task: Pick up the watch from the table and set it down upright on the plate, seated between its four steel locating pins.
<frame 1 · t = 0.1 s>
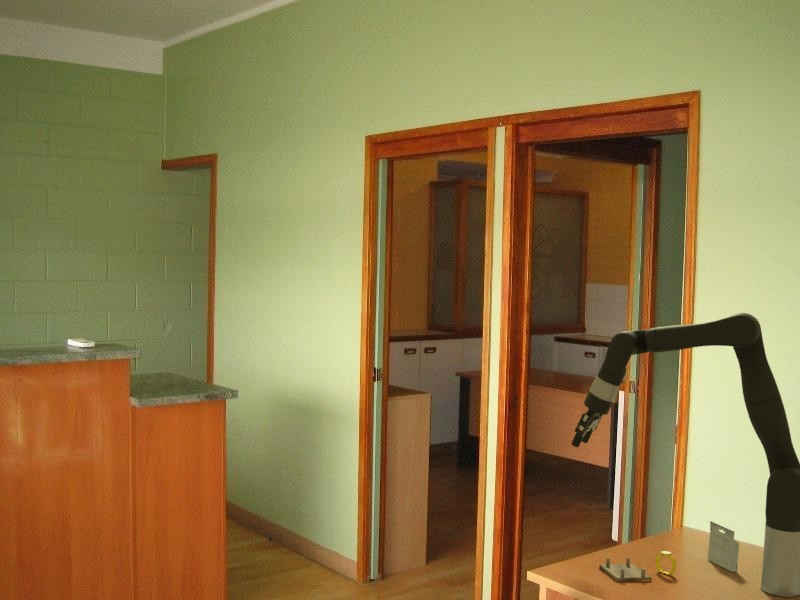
hand: (579, 444, 271), 31 cm above the table, fingers open, 8 cm apart
ink box: (722, 566, 266), on the table
pin plate: (624, 574, 253), on the table
watch: (665, 574, 256), on the table
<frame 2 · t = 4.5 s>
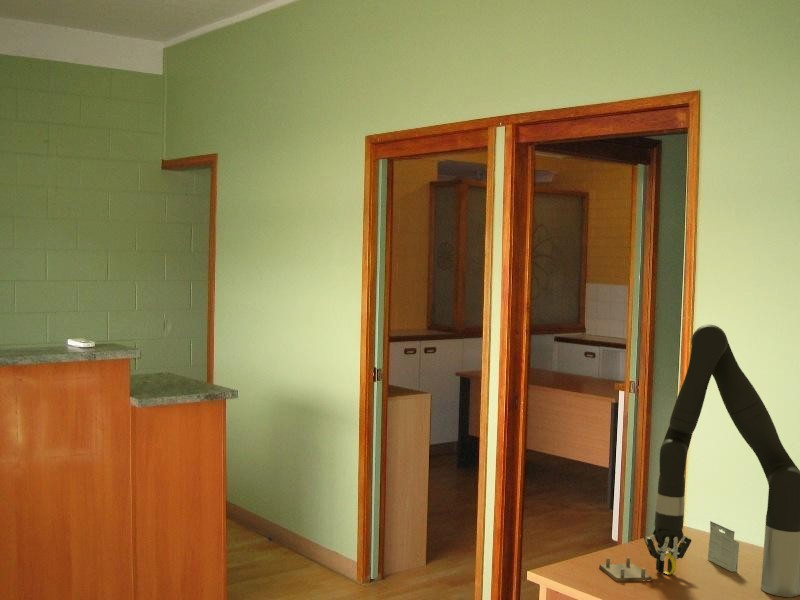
hand: (665, 572, 256), 0 cm above the table, fingers closed on watch, 2 cm apart
watch: (665, 574, 256), on the table, touching gripper
everything else where it was.
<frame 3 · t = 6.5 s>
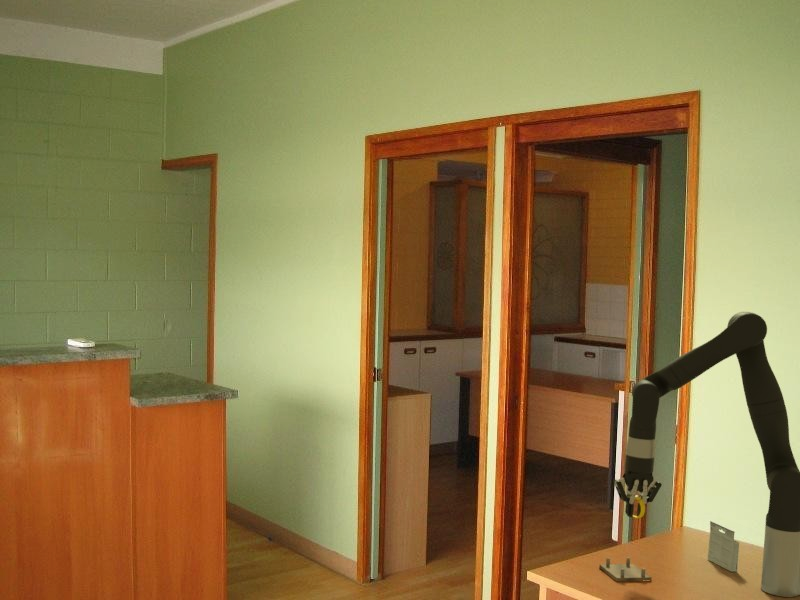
hand: (634, 516, 253), 16 cm above the table, fingers closed on watch, 2 cm apart
watch: (634, 518, 254), point 15 cm above the table, touching gripper
everything else where it was.
when the fingers open (3 cm above the table, at t = 8.8 s): watch drops 1 cm, resting on pin plate.
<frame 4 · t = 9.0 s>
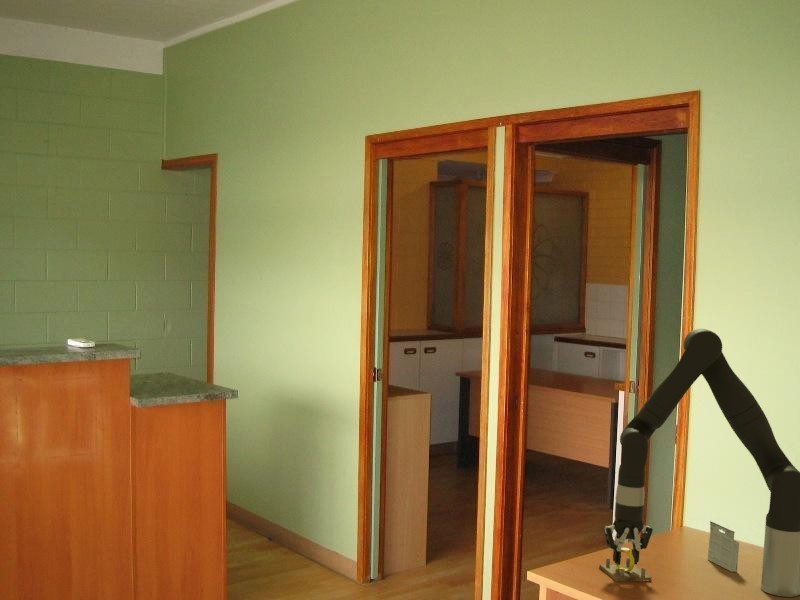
hand: (625, 563, 253), 3 cm above the table, fingers open, 4 cm apart
watch: (623, 571, 253), point 1 cm above the table, touching pin plate
everything else where it was.
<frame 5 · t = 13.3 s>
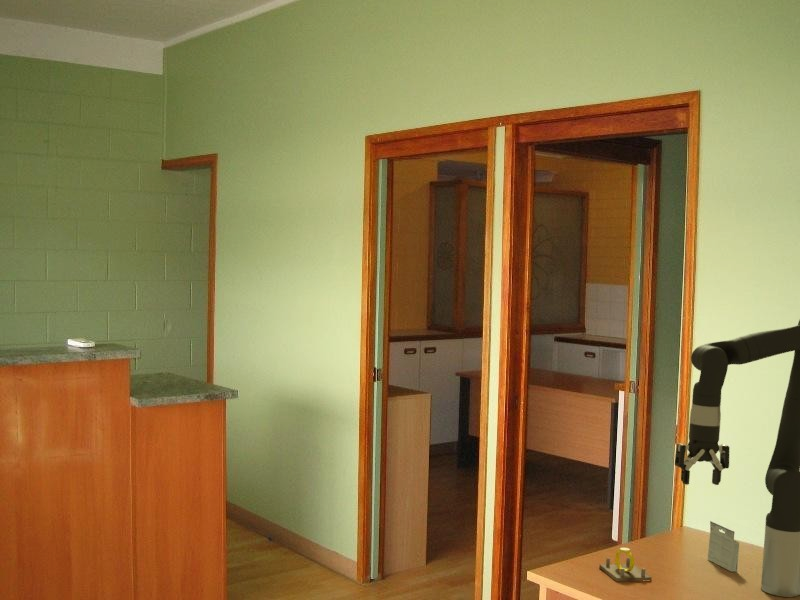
hand: (700, 484, 242), 28 cm above the table, fingers open, 8 cm apart
nothing on the table moved.
at the end: watch 0.3 cm off-centre on the pin plate, point 0.8 cm above the pin plate's base; watch tilted 0°; the gripper is holding nothing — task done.
